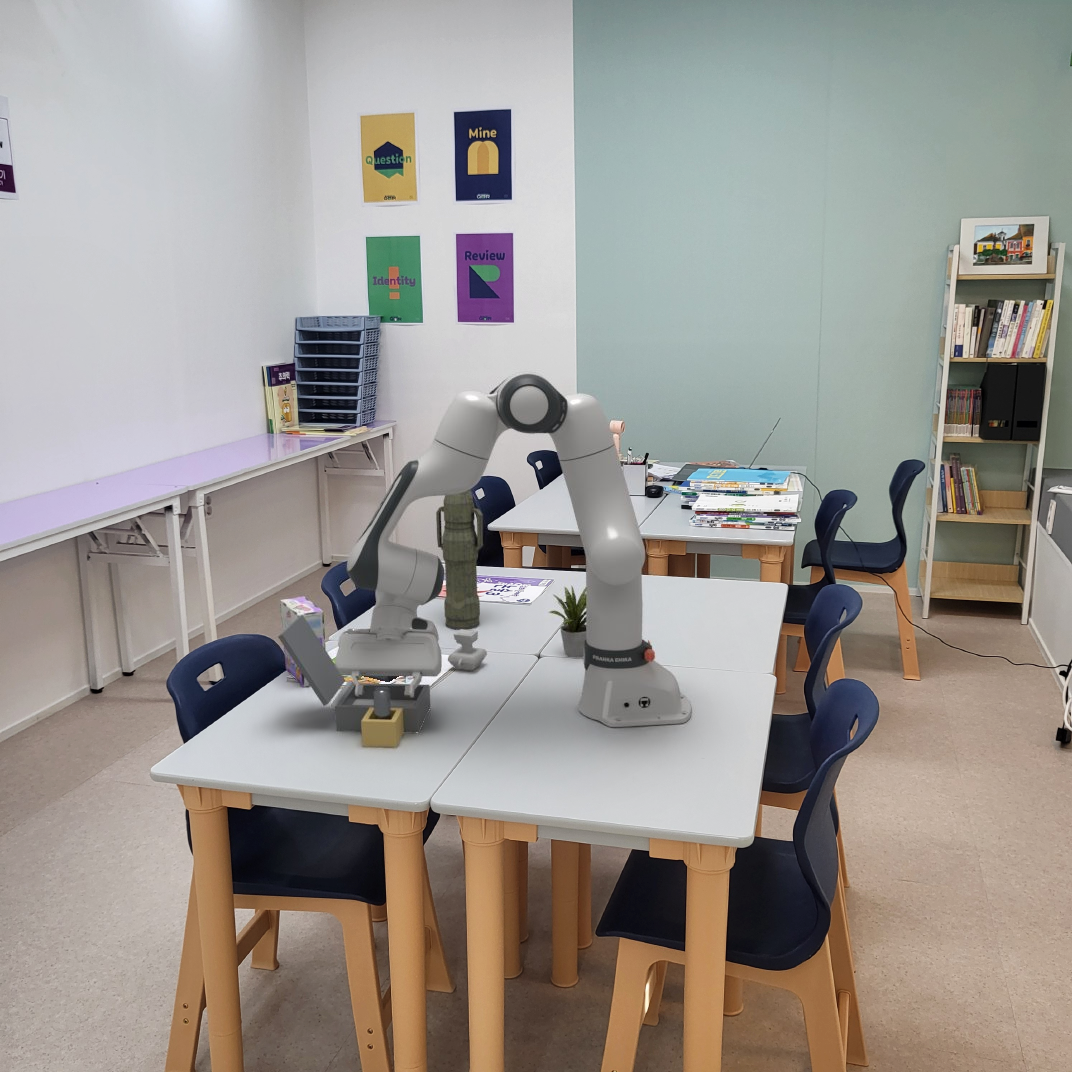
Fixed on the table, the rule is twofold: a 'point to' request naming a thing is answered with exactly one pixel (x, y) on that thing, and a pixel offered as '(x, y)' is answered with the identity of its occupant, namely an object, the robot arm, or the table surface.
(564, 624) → the house plant
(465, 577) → the thermos
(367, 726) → the frame
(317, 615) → the candy box
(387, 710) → the rod
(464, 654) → the stamp
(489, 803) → the table surface
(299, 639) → the case lid
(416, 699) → the case
